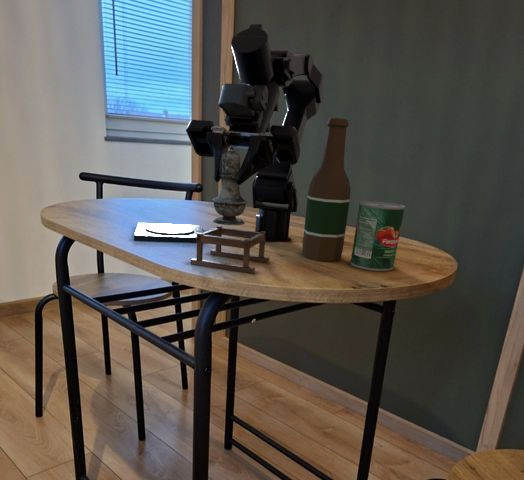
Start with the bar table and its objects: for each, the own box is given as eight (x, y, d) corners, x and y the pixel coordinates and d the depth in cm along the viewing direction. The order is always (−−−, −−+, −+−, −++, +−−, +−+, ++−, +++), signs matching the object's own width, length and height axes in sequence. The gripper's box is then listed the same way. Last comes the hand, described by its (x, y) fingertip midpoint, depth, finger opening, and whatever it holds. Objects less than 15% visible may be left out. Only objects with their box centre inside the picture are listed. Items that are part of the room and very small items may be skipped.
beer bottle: (343, 255, 93) (362, 121, 84) (338, 263, 86) (359, 118, 77) (305, 250, 95) (319, 118, 85) (297, 258, 88) (312, 115, 78)
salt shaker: (207, 219, 81) (208, 142, 76) (239, 219, 83) (243, 145, 78) (217, 225, 76) (219, 144, 71) (251, 225, 78) (255, 147, 73)
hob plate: (201, 229, 107) (201, 224, 107) (205, 242, 95) (205, 236, 94) (138, 227, 105) (137, 221, 104) (133, 240, 92) (133, 233, 92)
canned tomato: (354, 258, 92) (363, 199, 87) (395, 264, 89) (407, 204, 85) (346, 266, 85) (355, 203, 80) (390, 273, 82) (402, 208, 78)
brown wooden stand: (212, 253, 87) (213, 224, 85) (269, 261, 84) (271, 232, 82) (190, 264, 79) (190, 232, 77) (252, 273, 76) (254, 241, 74)
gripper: (191, 64, 76) (155, 138, 71) (302, 67, 70) (272, 147, 65) (212, 120, 86) (182, 188, 81) (310, 127, 80) (285, 200, 75)
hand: (226, 181), depth 75 cm, fingers closed on salt shaker, 3 cm apart
